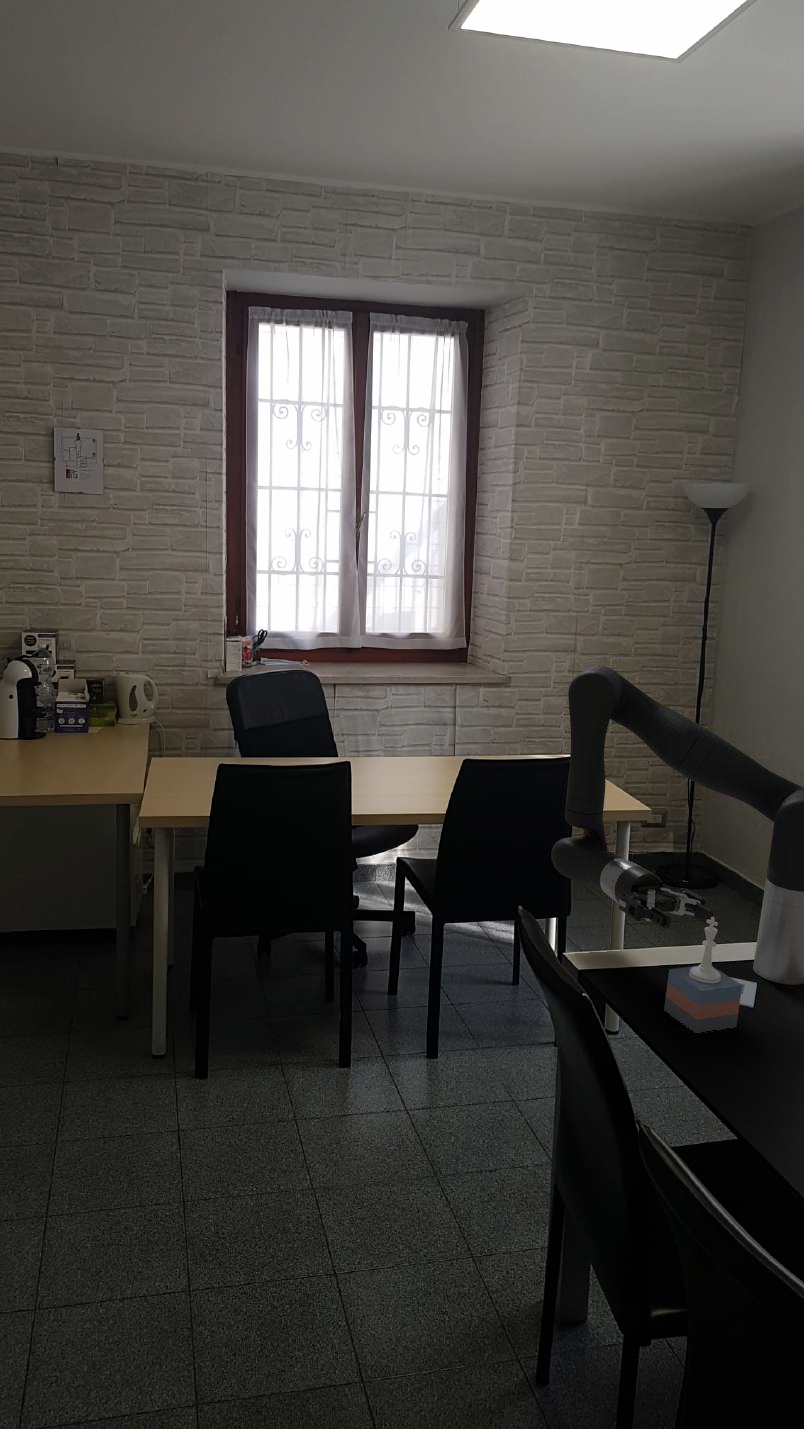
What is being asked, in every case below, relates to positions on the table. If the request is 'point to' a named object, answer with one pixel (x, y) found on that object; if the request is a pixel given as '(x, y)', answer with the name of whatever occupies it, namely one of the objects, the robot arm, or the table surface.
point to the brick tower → (702, 1001)
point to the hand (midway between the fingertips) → (690, 920)
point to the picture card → (747, 992)
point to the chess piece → (707, 958)
